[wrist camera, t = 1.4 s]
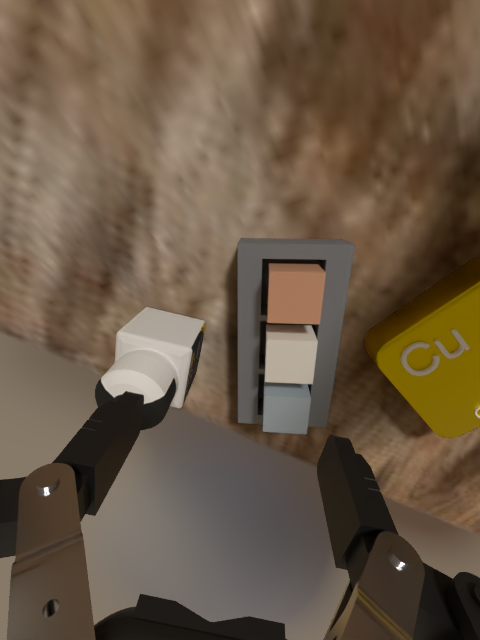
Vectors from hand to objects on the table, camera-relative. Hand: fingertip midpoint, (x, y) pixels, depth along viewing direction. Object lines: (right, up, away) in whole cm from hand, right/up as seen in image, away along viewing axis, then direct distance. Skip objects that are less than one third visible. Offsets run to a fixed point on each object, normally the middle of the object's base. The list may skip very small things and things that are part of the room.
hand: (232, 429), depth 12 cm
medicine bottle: (-8, +2, +22) cm, 23 cm away
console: (+5, +3, +20) cm, 21 cm away
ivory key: (+5, +2, +16) cm, 17 cm away
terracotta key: (+5, +8, +14) cm, 17 cm away
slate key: (+5, -3, +19) cm, 20 cm away
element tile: (+24, +2, +19) cm, 31 cm away
